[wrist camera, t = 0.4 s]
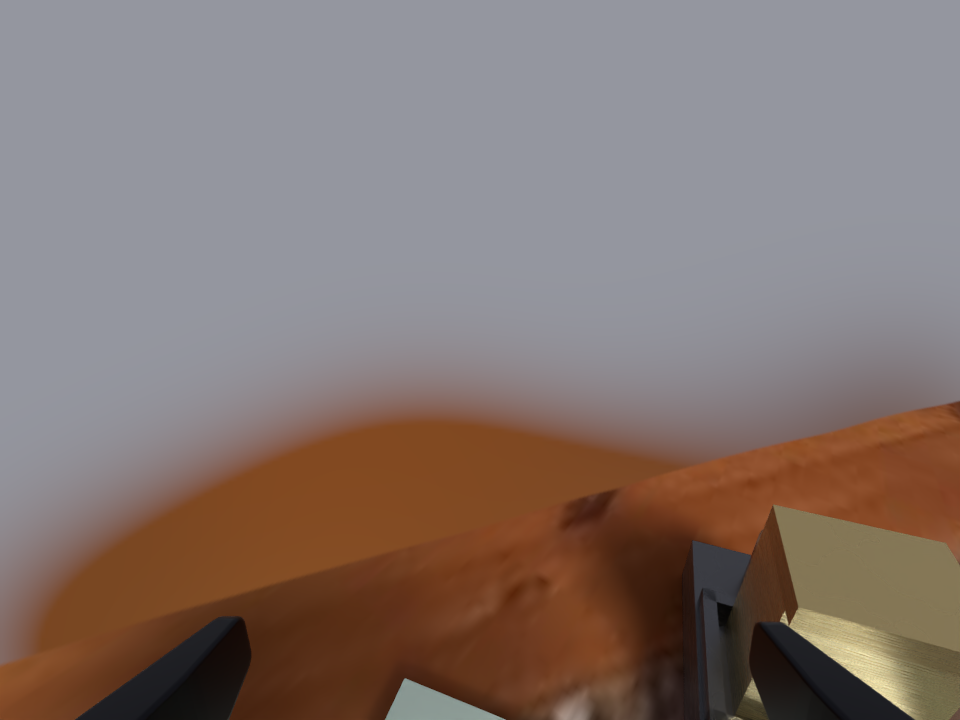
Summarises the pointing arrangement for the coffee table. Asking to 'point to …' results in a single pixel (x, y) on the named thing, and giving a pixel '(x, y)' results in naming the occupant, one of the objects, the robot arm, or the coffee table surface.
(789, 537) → the lever cap
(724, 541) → the coffee table surface
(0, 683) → the coffee table surface
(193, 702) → the robot arm
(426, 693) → the sage mat
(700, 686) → the plane body
